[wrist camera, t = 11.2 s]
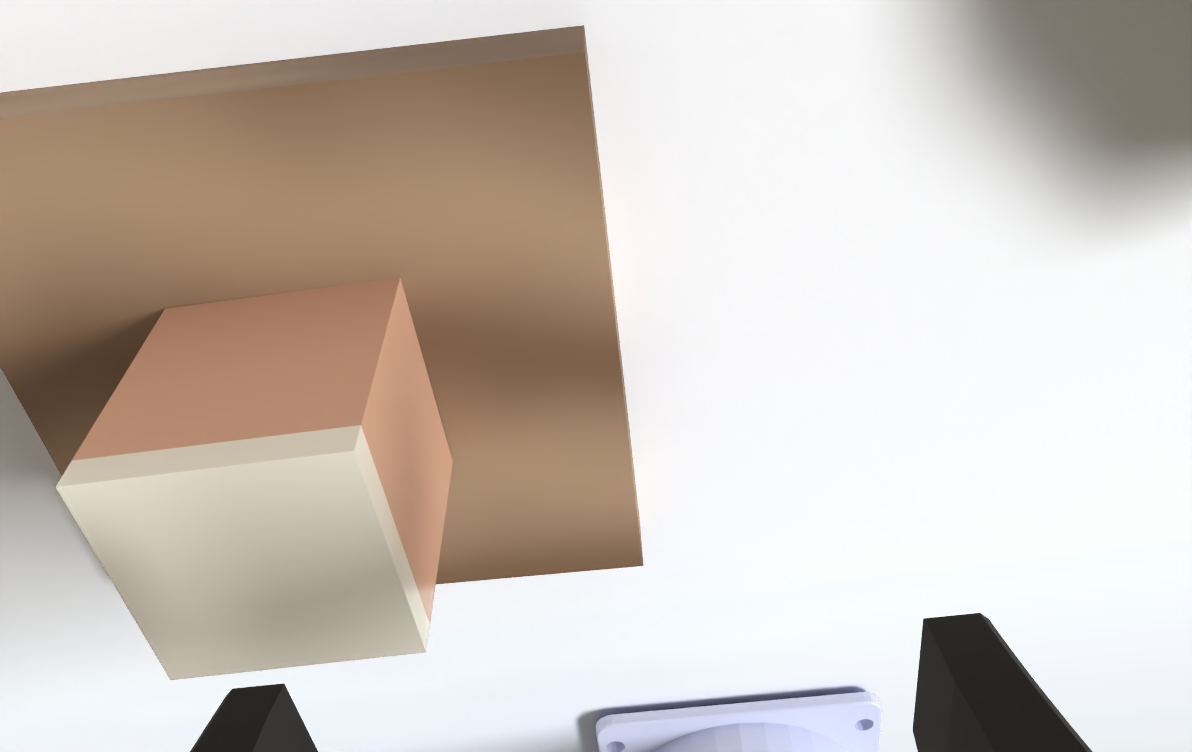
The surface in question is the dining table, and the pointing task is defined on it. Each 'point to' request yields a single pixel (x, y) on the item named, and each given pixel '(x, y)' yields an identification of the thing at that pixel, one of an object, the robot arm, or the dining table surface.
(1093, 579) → the dining table surface
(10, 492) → the dining table surface
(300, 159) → the walnut block
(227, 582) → the lidded terracotta box
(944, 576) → the dining table surface
